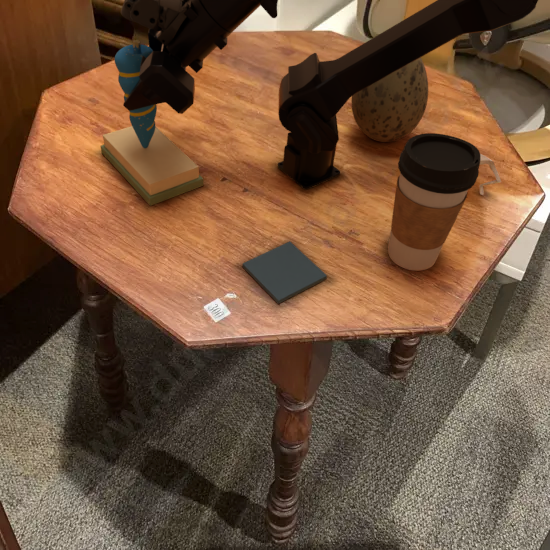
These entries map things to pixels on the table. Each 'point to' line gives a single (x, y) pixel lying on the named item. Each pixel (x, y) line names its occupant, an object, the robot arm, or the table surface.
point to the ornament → (128, 78)
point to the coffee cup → (429, 196)
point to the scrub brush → (151, 165)
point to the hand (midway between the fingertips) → (128, 97)
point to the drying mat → (284, 272)
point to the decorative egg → (392, 103)
